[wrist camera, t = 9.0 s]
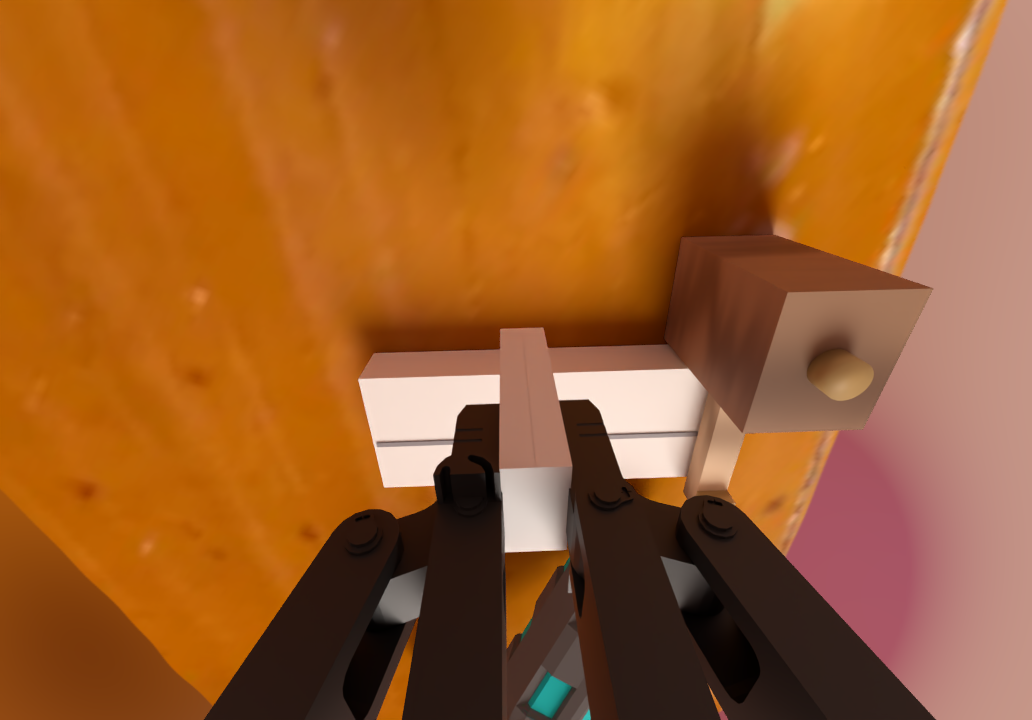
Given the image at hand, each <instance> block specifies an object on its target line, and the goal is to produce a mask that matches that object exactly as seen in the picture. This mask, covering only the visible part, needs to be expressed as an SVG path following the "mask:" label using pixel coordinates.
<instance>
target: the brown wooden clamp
mask: <svg viewBox="0 0 1032 720" xmlns="http://www.w3.org/2000/svg"><path fill="white" fill-rule="evenodd" d="M932 290H933V288H930V287H927V286H924V285H921V284H919V283H915V282H913V281H910V280H907V279H904V278H901V277H898V276H895V275H892V274H889V273H886V272H883V271H880V270H877V269H874V268H871V267H868V266H865V265H862V264H859V263H856V262H853V261H850V260H847V259H844V258H842V257H839V256H836V255H833V254H830V253H827V252H824V251H821V250H818V249H815V248H812V247H809V246H806V245H803V244H800V243H797V242H794V241H791V240H788V239H785V238H782V237H779V236H776V235H743V236H702V237H682V238H681V244H680V249H679V255H678V261H677V266H676V272H675V278H674V283H673V289H672V295H671V300H670V306H669V311H668V317H667V323H666V328H665V334H664V340H665V341H666V342H667V343H668V344H669V346H670V347H671V348H672V349H673V350H674V352H675V353H676V354H677V355H678V356H679V358H680V359H681V360H682V361H683V362H684V364H685V365H686V366H687V367H688V369H689V370H690V371H691V372H692V373H693V375H694V376H695V377H696V378H697V379H698V381H699V382H700V383H701V384H702V385H703V387H704V388H705V389H706V390H707V391H708V396H707V400H706V404H705V408H704V412H703V416H702V420H701V423H700V427H699V431H698V435H697V439H696V443H695V447H694V451H693V455H692V459H691V463H690V467H689V471H688V475H687V479H686V483H685V487H684V490H683V492H684V494H685V496H686V498H687V499H690V498H692V497H694V496H701V495H709V496H714V497H718V498H721V499H723V500H726V501H728V502H730V503H732V504H734V505H735V504H736V503H735V502H734V500H733V499H732V497H731V495H730V494H729V492H728V491H727V489H728V486H729V483H730V479H731V476H732V473H733V470H734V467H735V464H736V461H737V458H738V455H739V452H740V449H741V446H742V443H743V440H744V436H745V434H746V433H775V432H804V431H833V430H862V429H863V428H864V426H865V424H866V422H867V420H868V418H869V416H870V414H871V412H872V410H873V408H874V406H875V404H876V402H877V400H878V398H879V396H880V394H881V392H882V390H883V388H884V386H885V384H886V382H887V380H888V378H889V376H890V374H891V372H892V370H893V368H894V366H895V364H896V362H897V360H898V358H899V356H900V354H901V352H902V350H903V348H904V346H905V344H906V342H907V340H908V338H909V336H910V334H911V332H912V330H913V328H914V326H915V324H916V322H917V320H918V318H919V316H920V314H921V312H922V310H923V308H924V306H925V304H926V302H927V300H928V298H929V296H930V294H931V292H932Z"/></svg>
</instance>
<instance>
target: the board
mask: <svg viewBox="0 0 1032 720" xmlns="http://www.w3.org/2000/svg"><path fill="white" fill-rule="evenodd" d="M548 352H549V356H550V361H551V366H552V371H553V376H554V380H555V385H556V390H557V395H558V399H559V400H583V399H589V400H590V401H591V402H592V403H593V404H594V405H595V406H596V407H597V408H598V409H599V410H600V413H601V416H602V419H603V422H604V425H605V428H606V431H607V435H608V436H609V439H610V442H611V445H612V448H613V451H614V454H615V457H616V459H617V462H618V465H619V468H620V471H621V474H622V476H623V478H624V479H631V478H658V477H686V476H687V475H688V471H689V467H690V463H691V459H692V455H693V451H694V447H695V443H696V439H697V435H698V431H699V427H700V423H701V420H702V416H703V412H704V408H705V404H706V400H707V396H708V391H707V390H706V389H705V388H704V387H703V385H702V384H701V383H700V382H699V381H698V379H697V378H696V377H695V376H694V375H693V373H692V372H691V371H690V370H689V369H688V367H687V366H686V365H685V364H684V362H683V361H682V360H681V359H680V358H679V356H678V355H677V354H676V353H675V352H674V350H673V349H672V348H671V347H670V346H669V344H664V345H631V346H597V347H563V348H548ZM358 380H359V385H360V389H361V393H362V397H363V401H364V405H365V410H366V414H367V418H368V422H369V426H370V430H371V435H372V439H373V443H374V447H375V451H376V455H377V460H378V464H379V468H380V472H381V476H382V480H383V484H384V487H411V486H435V485H434V479H433V474H434V472H435V469H436V467H437V465H438V464H440V463H441V462H442V461H443V460H444V459H445V458H446V457H448V456H450V455H451V453H452V447H453V443H454V434H455V427H456V421H457V416H458V414H459V413H460V412H461V411H462V409H463V408H464V407H465V406H466V405H470V404H500V349H496V350H462V351H429V352H395V353H374V354H373V355H372V357H371V359H370V360H369V362H368V364H367V365H366V367H365V369H364V370H363V372H362V374H361V375H360V377H359V378H358Z"/></svg>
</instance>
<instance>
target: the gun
mask: <svg viewBox="0 0 1032 720" xmlns="http://www.w3.org/2000/svg"><path fill="white" fill-rule="evenodd" d="M569 567H570V557H569V559H568V560H567V562H566V564H565V565H564V566H559V567H557V569H556V570H555V572H554V574H553V575H552V577H551V579H550V580H549V582H548V583H547V585H546V587H545V588H544V590H543V592H542V593H541V595H540V596H539V598H538V600H537V601H536V605H535V609H534V614H533V617H532V619H531V620H530V622H529V623H528V625H527V627H526V628H525V630H524V632H523V633H522V634H517V635H515V637H514V639H513V640H512V642H511V643H510V645H509V647H508V648H507V720H591V717H590V710H589V703H588V696H587V690H586V683H585V676H584V669H583V663H582V656H581V649H580V643H579V636H578V629H577V622H576V616H575V609H574V602H573V595H572V593H568V580H569Z"/></svg>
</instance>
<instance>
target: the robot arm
mask: <svg viewBox="0 0 1032 720" xmlns="http://www.w3.org/2000/svg"><path fill="white" fill-rule="evenodd" d="M433 479H434V485H435V490H436V496H437V501H436V502H435V503H434V504H432V505H431V506H429V507H428V508H426V509H424V510H422V511H420V512H417V513H415V514H412V515H408V516H405V517H402V518H399V519H396V518H395V517H394V516H393V515H392V514H391V513H389V512H386V511H384V510H381V509H369V510H365V511H362V512H359V513H355V514H354V515H352V516H351V517H349V518H347V519H346V520H344V521H343V522H342V523H341V524H340V525H339V526H338V527H337V528H336V529H335V530H334V531H333V533H332V534H331V536H330V537H329V539H328V540H327V542H326V543H325V544H324V546H323V547H322V549H321V550H320V552H319V553H318V555H317V556H316V558H315V559H314V560H313V562H312V563H311V565H310V566H309V568H308V569H307V571H306V572H305V573H304V575H303V576H302V578H301V579H300V581H299V582H298V584H297V585H296V587H295V588H294V589H293V591H292V592H291V594H290V595H289V597H288V598H287V600H286V601H285V603H284V604H283V605H282V607H281V608H280V610H279V611H278V613H277V614H276V616H275V617H274V619H273V620H272V621H271V623H270V624H269V626H268V627H267V629H266V630H265V632H264V633H263V635H262V636H261V637H260V639H259V640H258V642H257V643H256V645H255V646H254V648H253V649H252V651H251V652H250V653H249V655H248V656H247V658H246V659H245V661H244V662H243V664H242V665H241V667H240V668H239V669H238V671H237V672H236V674H235V675H234V677H233V678H232V680H231V681H230V683H229V684H228V685H227V687H226V688H225V690H224V691H223V693H222V694H221V696H220V697H219V699H218V700H217V701H216V703H215V704H214V706H213V707H212V709H211V710H210V712H209V713H208V714H207V716H206V717H205V719H204V720H376V719H377V716H378V714H379V711H380V709H381V706H382V704H383V701H384V699H385V696H386V694H387V691H388V689H389V686H390V684H391V681H392V679H393V676H394V674H395V671H396V669H397V666H398V663H399V661H400V658H401V656H402V653H403V651H404V648H405V646H406V643H407V641H408V638H409V636H410V633H411V631H412V628H413V626H414V623H415V621H416V618H418V617H419V620H418V626H417V632H416V638H415V644H414V650H413V656H412V662H411V668H410V674H409V680H408V686H407V692H406V698H405V704H404V710H403V716H402V720H507V648H506V574H505V552H528V551H553V550H567V541H568V547H569V554H570V567H569V580H568V593H572V595H573V602H574V609H575V616H576V622H577V629H578V636H579V643H580V649H581V656H582V663H583V669H584V676H585V683H586V690H587V696H588V703H589V710H590V717H591V720H721V719H720V716H719V714H718V711H717V708H716V705H715V703H714V700H713V697H712V695H711V692H710V689H709V687H710V688H711V690H712V692H713V694H714V695H715V697H716V699H717V700H718V702H719V704H720V706H721V707H722V709H723V711H724V712H725V714H726V716H727V718H728V720H936V719H935V718H934V717H933V716H932V715H931V714H930V713H929V712H928V711H927V710H926V709H925V707H924V706H923V705H922V704H921V703H920V702H919V701H918V700H917V699H916V698H915V697H914V696H913V694H912V693H911V692H910V691H909V690H908V689H907V688H906V687H905V686H904V685H903V684H902V683H901V682H900V680H899V679H898V678H897V677H896V676H895V675H894V674H893V673H892V672H891V671H890V670H889V669H888V667H886V665H885V664H884V663H883V662H882V661H881V660H880V659H879V658H878V657H877V656H876V655H875V653H874V652H873V651H872V650H871V649H870V648H869V647H868V646H867V645H866V644H865V643H864V642H863V641H862V639H861V638H860V637H859V636H858V635H857V634H856V633H855V632H854V631H853V630H852V629H851V628H850V627H849V625H848V624H846V622H845V621H844V620H843V619H842V618H841V617H840V616H839V615H838V614H837V613H836V612H835V610H834V609H833V608H832V607H831V606H830V605H829V604H828V603H827V602H826V601H825V600H824V599H823V597H822V596H821V595H820V594H819V593H818V592H817V591H816V590H815V589H814V588H813V587H812V586H811V585H810V583H809V582H808V581H807V580H806V579H805V578H804V577H803V576H802V575H801V574H800V573H799V572H798V570H797V569H796V568H795V567H794V566H793V565H792V564H791V563H790V562H789V561H788V560H787V559H786V557H785V556H784V555H783V554H782V553H781V552H780V551H779V550H778V549H777V548H776V547H775V546H774V545H773V543H772V542H771V541H770V540H769V539H768V538H767V537H766V536H765V535H764V534H763V533H762V532H761V531H760V529H759V528H758V527H757V526H756V525H755V524H754V523H753V522H752V521H751V520H750V519H749V518H748V517H747V515H746V514H745V513H743V512H742V511H741V510H740V509H739V508H737V507H736V506H735V505H734V504H732V503H730V502H728V501H726V500H723V499H721V498H718V497H714V496H709V495H701V496H694V497H692V498H690V499H688V500H686V501H685V503H684V504H683V506H682V507H681V508H680V507H676V506H671V505H667V504H663V503H658V502H655V501H652V500H649V499H646V498H645V497H643V496H641V495H639V494H637V493H636V491H635V490H634V488H633V486H631V485H630V484H629V483H628V482H626V481H625V480H624V478H623V476H622V474H621V471H620V468H619V465H618V462H617V459H616V457H615V454H614V451H613V448H612V445H611V442H610V439H609V436H608V435H607V431H606V428H605V425H604V422H603V419H602V416H601V413H600V410H599V409H598V408H597V407H596V406H595V405H594V404H593V403H592V402H591V401H590V400H589V399H583V400H559V399H558V395H557V390H556V385H555V380H554V376H553V371H552V366H551V361H550V356H549V352H548V347H547V342H546V337H545V333H544V328H543V327H542V328H509V329H500V404H470V405H466V406H465V407H464V408H463V409H462V411H461V412H460V413H459V414H458V416H457V421H456V427H455V434H454V443H453V447H452V453H451V455H450V456H448V457H446V458H445V459H444V460H443V461H442V462H441V463H440V464H438V465H437V467H436V469H435V472H434V474H433ZM707 683H708V684H707ZM708 685H709V686H708Z"/></svg>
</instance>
